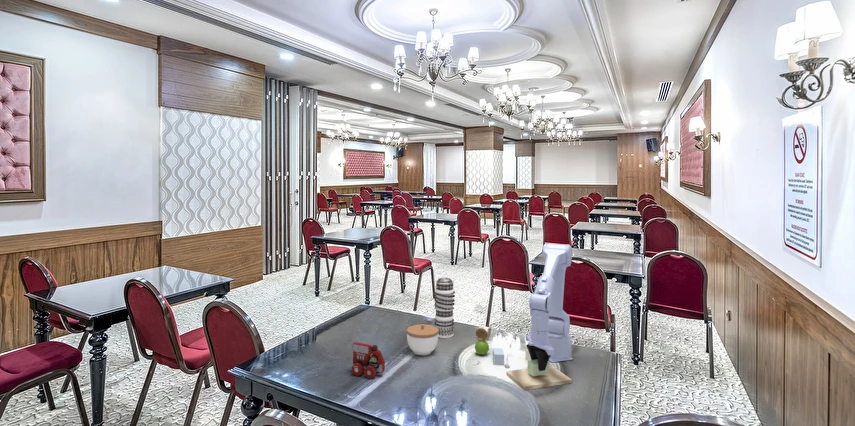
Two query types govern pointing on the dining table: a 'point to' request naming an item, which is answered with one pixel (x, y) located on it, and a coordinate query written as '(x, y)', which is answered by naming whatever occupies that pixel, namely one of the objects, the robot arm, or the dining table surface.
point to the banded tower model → (444, 307)
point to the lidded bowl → (422, 338)
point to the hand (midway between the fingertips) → (538, 367)
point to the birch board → (538, 378)
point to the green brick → (536, 368)
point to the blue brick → (498, 356)
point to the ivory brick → (527, 355)
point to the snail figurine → (482, 340)
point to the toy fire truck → (367, 360)
